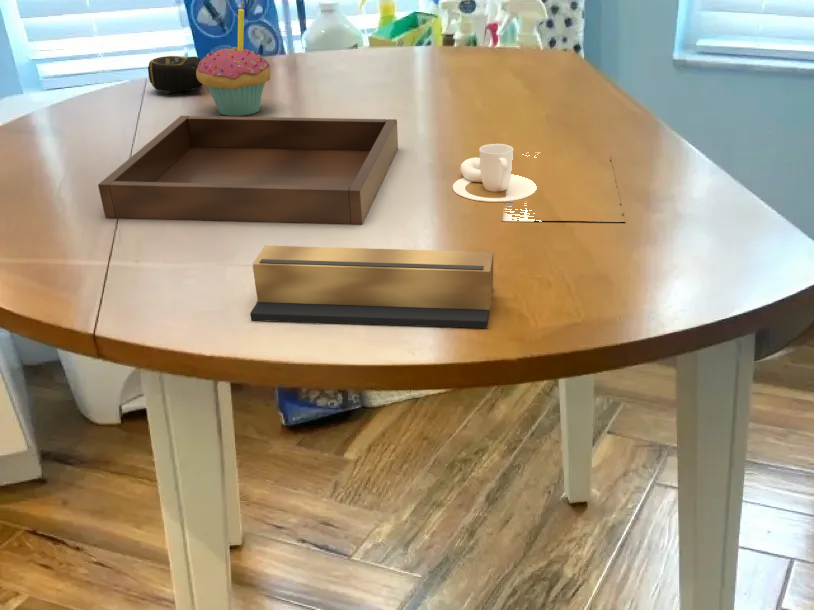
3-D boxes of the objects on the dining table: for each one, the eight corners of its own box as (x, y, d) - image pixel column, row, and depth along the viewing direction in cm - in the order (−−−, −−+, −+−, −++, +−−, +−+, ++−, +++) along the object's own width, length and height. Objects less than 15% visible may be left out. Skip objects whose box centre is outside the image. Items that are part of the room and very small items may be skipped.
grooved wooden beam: (257, 302, 70) (251, 262, 68) (269, 282, 73) (264, 244, 71) (489, 310, 69) (490, 270, 67) (493, 289, 71) (493, 250, 70)
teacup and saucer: (455, 175, 95) (455, 133, 93) (536, 176, 95) (537, 134, 92) (449, 206, 88) (449, 161, 85) (537, 207, 87) (538, 162, 85)
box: (106, 223, 85) (97, 184, 83) (186, 148, 103) (180, 115, 101) (362, 230, 83) (360, 190, 81) (398, 153, 101) (397, 119, 99)
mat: (250, 320, 69) (249, 313, 68) (274, 280, 75) (273, 273, 74) (487, 328, 68) (487, 320, 67) (493, 287, 73) (493, 279, 73)
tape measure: (205, 95, 121) (200, 64, 119) (149, 98, 120) (143, 67, 118) (207, 83, 127) (202, 53, 125) (153, 85, 126) (148, 55, 124)
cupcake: (274, 100, 119) (262, -6, 112) (275, 119, 112) (262, 7, 105) (203, 104, 118) (187, -3, 111) (200, 123, 111) (182, 10, 104)
